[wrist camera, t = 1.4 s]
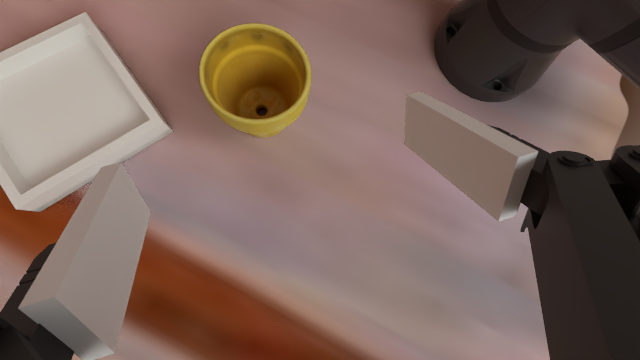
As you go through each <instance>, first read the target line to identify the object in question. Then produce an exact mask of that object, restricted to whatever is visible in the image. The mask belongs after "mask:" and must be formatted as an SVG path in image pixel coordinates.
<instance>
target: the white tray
mask: <svg viewBox="0 0 640 360" xmlns="http://www.w3.org/2000/svg"><path fill="white" fill-rule="evenodd" d="M172 132H173V130H172V129H171V127H170V126H169V125H168V123H167V122H166V120H165V119H164V118H163V116H162V115H161V113H160V112H159V111H158V109H157V108H156V106H155V105H154V104H153V102H152V101H151V99H150V98H149V97H148V95H147V94H146V92H145V91H144V89H143V88H142V87H141V85H140V84H139V82H138V81H137V80H136V78H135V77H134V75H133V74H132V73H131V71H130V70H129V68H128V67H127V66H126V64H125V63H124V61H123V60H122V59H121V57H120V56H119V54H118V53H117V51H116V50H115V49H114V47H113V46H112V44H111V43H110V42H109V40H108V39H107V37H106V36H105V35H104V33H103V32H102V30H101V29H100V28H99V27H98V26H97V25H96V23H95V22H94V21H93V20H92V19H91V18H90V17H89V15H88V14H87V13H86V12H84V13H82V14H80V15H77V16H75V17H73V18H71V19H69V20H67V21H65V22H63V23H61V24H59V25H57V26H54V27H52V28H50V29H48V30H46V31H44V32H42V33H40V34H38V35H36V36H34V37H31V38H29V39H27V40H25V41H23V42H21V43H19V44H17V45H15V46H13V47H10V48H8V49H6V50H4V51H2V52H0V185H1V187H2V188H3V190H4V191H5V193H6V195H7V196H8V198H9V199H10V201H11V202H12V204H13V206H14V207H15V209H18V210H27V211H37V212H41V211H43V210H44V209H46V208H48V207H49V206H51V205H53V204H54V203H56V202H57V201H59V200H61V199H62V198H64V197H66V196H67V195H69V194H71V193H72V192H74V191H76V190H77V189H79V188H81V187H82V186H84V185H86V184H87V183H89V182H91V181H92V180H94V179H95V177H96V175H97V174H98V172H99V170H100V168H101V167H104V166H108V165H112V164H116V163H120V162H121V163H122V162H124V161H125V160H127V159H129V158H130V157H132V156H134V155H135V154H137V153H139V152H140V151H142V150H144V149H145V148H147V147H149V146H150V145H152V144H154V143H155V142H157V141H159V140H160V139H162V138H164V137H165V136H167V135H169V134H170V133H172Z"/></svg>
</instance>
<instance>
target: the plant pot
mask: <svg viewBox="0 0 640 360" xmlns="http://www.w3.org/2000/svg"><path fill="white" fill-rule="evenodd" d="M311 77H312V75H311V66H310V62H309V59H308V57H307V54H306V52H305V51H304V49H303V48H302V46H301V45H300V44H299V43H298V42H297V40H296V39H294V38H293V37H292V36H291V35H290V34H288V33H287V32H285V31H283V30H281V29H279V28H277V27H274V26H271V25H267V24H261V23H247V24H241V25H237V26H233V27H231V28H229V29H226V30H224V31H223V32H221V33H220V34H218V35H217V36H216V37H215V38H214V39H213V40H212V41H211V42H210V43H209V44H208V45H207V47H206V48H205V50H204V52H203V54H202V57H201V60H200V64H199V81H200V85H201V88H202V91H203V93H204V95H205V97H206V99H207V101H208V102H209V104H210V106H211V107H212V108H213V110H214V111H215V112H216V114H217V115H218V116H219V117H220V118H221V119H222V120H223V121H224V122H225V123H227V124H228V125H230V126H231V127H233V128H235V129H237V130H240V131H243V132H246V133H249V134H250V135H253V136H256V137H270V136H273V135H276V134H277V133H279V132H280V131H282V130H283V129H284V128H285V127H287V126H288V125H290V124H291V123H292V122H293V121H295V120H296V119H297V118H298V116H299V115H300V114H301V112H302V111H303V109H304V107H305V105H306V102H307V99H308V96H309V91H310V86H311ZM261 107H263V108H265V109H267V114H265V115H264V116H259V115H258V114H257V110H258V109H259V108H261Z"/></svg>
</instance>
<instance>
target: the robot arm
mask: <svg viewBox="0 0 640 360" xmlns="http://www.w3.org/2000/svg"><path fill="white" fill-rule="evenodd" d="M579 38H580V39H581V40H583V41H584V42H585V43H586V44H587V45H589V46H590V47H591V48H592V49H593V50H594V51H596V52H597V53H598V54H599V55H600V56H601V57H602V58H604V59H605V60H606V61H607V62H608V63H609V64H611V65H612V66H613V67H614V68H615V69H616V70H618V71H619V72H620V73H621V74H622V75H623V76H625V77H626V78H627V79H628V80H629V81H631V82H632V83H633V84H634V85H635V86H636V87H637V88H639V89H640V0H462V1H461V2H459V3H458V4H457V5H455V6H454V7H453V8H452V9H451V11H450V12H449V13H448V15H447V16H446V17H445V19H444V20H443V21H442V23H441V24H440V26H439V28H438V30H437V33H436V38H435V52H436V57H437V61H438V63H439V66H440V68H441V70H442V71H443V73H444V75H445V76H446V77H447V79H448V80H449V81H450V82H451V83H452V84H453V85H454V86H455V87H456V88H457V89H459V90H460V91H461V92H463V93H465V94H466V95H468V96H470V97H472V98H475V99H478V100H481V101H486V102H502V101H506V100H509V99H512V98H514V97H516V96H518V95H519V94H521V93H522V92H524V91H526V90H527V89H529V88H530V87H531V86H532V85H534V84H535V83H536V82H537V81H538V79H539V78H540V77H541V76H542V75H543V73H544V72H545V71H546V70H547V68H548V67H549V66H550V65H551V63H552V62H553V61H554V60H555V58H556V57H557V56H558V55H559V53H560V52H561V51H562V50H563V49H564V48H566V47H567V46H569V45H570V44H571V43H573V42H574V41H576V40H578V39H579ZM404 144H405V145H406V146H407V147H409V148H410V149H411V150H412V151H413V152H415V153H416V154H417V155H418V156H420V157H421V158H422V159H423V160H424V161H426V162H427V163H428V164H429V165H430V166H432V167H433V168H434V169H435V170H437V171H438V172H439V173H440V174H441V175H443V176H444V177H445V178H446V179H447V180H449V181H450V182H451V183H452V184H454V185H455V186H456V187H457V188H458V189H460V190H461V191H462V192H463V193H464V194H466V195H467V196H468V197H469V198H471V199H472V200H473V201H474V202H475V203H477V204H478V205H479V206H480V207H481V208H483V209H484V210H485V211H486V212H488V213H489V214H490V215H491V216H492V217H494V218H495V219H496V220H497V221H498V222H499V221H502V220H504V219H507V218H510V217H513V216H516V214H517V211H518V208H519V205H520V203H522V204H524V205H525V206H527V207H528V211H527V214H526V216H525V219H524V221H523V224H522V227H521V231H520V232H524V231H525V228H526V227H528V231H529V237H530V243H531V249H532V255H533V261H534V266H535V272H536V278H537V284H538V290H539V296H540V302H541V308H542V314H543V320H544V326H545V332H546V337H547V343H548V349H549V355H550V360H640V145H638V146H630V145H628V146H621V147H619V148H617V149H616V151H615V153H614V155H613V157H612V159H611V160H602V161H595V160H594V159H593V158H591V157H589V156H587V155H584V154H581V153H578V152H572V151H556V152H552V153H551V154H550V153H548V152H546V151H544V150H542V149H540V148H538V147H536V146H534V145H532V144H530V143H528V142H526V141H524V140H522V139H519V138H518V137H516V136H514V135H510V133H508V132H506V131H504V130H502V129H500V128H497V127H493V126H489V125H486V124H484V123H482V122H480V121H478V120H476V119H474V118H472V117H470V116H468V115H466V114H464V113H463V112H461V111H459V110H457V109H455V108H453V107H451V106H449V105H447V104H445V103H443V102H441V101H439V100H437V99H435V98H433V97H431V96H429V95H427V94H425V93H423V92H421V91H419V92H415V93H411V94H407V98H406V118H405V138H404ZM150 214H151V211H150V210H149V208H148V206H147V205H146V203H145V201H144V200H143V198H142V196H141V195H140V193H139V191H138V189H137V188H136V186H135V184H134V183H133V181H132V179H131V178H130V176H129V174H128V173H127V171H126V169H125V168H124V166H123V164H122V163H121V162H120V163H116V164H112V165H108V166H104V167H101V168H100V170H99V172H98V174H97V175H96V177H95V179H94V180H93V182H92V184H91V185H90V187H89V189H88V190H87V192H86V194H85V196H84V197H83V199H82V201H81V202H80V204H79V206H78V207H77V209H76V211H75V213H74V214H73V216H72V218H71V219H70V221H69V223H68V224H67V226H66V228H65V229H64V231H63V233H62V235H61V236H60V238H59V240H58V241H57V243H54V244H50V245H48V246H47V247H46V248H45V249H44V250H43V251H42V252H41V253H40V254H39V255H38V256H37V257H36V258H35V259H34V260H33V262H32V264H31V265H30V267H29V268H28V270H27V271H26V272H27V274H25V275H24V276H23V278H22V279H21V281H20V282H19V284H20V285H19V286H17V287H16V289H15V290H14V292H13V293H12V295H11V297H10V298H9V300H8V301H7V303H6V304H5V306H4V308H3V309H2V311H1V312H0V360H71V359H72V356H73V354H76V355H77V356H78V357H79V358H81V359H82V360H96V359H99V358H102V357H104V356H107V355H110V354H113V353H115V351H116V347H117V343H118V339H119V335H120V331H121V327H122V323H123V319H124V316H125V312H126V308H127V304H128V300H129V296H130V292H131V288H132V284H133V280H134V277H135V273H136V269H137V265H138V261H139V257H140V253H141V249H142V245H143V241H144V238H145V234H146V230H147V226H148V222H149V218H150Z"/></svg>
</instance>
